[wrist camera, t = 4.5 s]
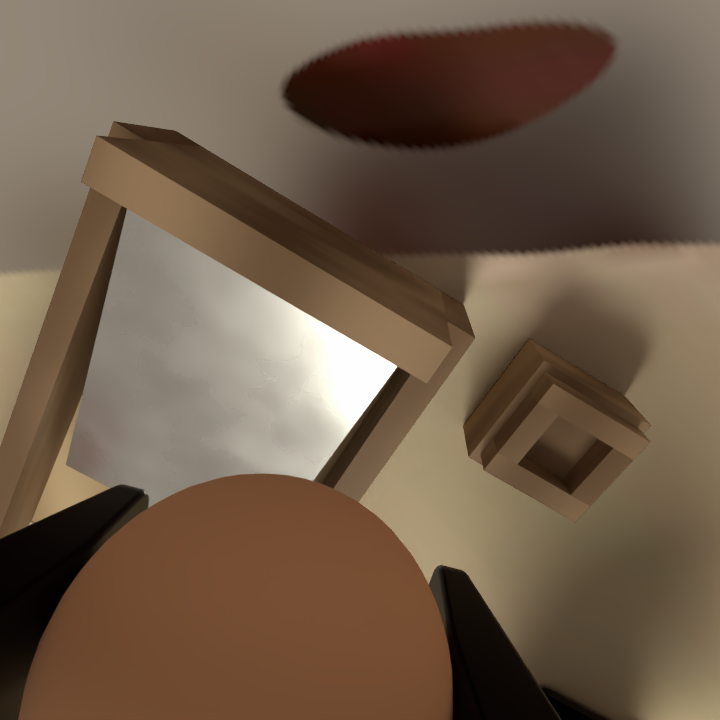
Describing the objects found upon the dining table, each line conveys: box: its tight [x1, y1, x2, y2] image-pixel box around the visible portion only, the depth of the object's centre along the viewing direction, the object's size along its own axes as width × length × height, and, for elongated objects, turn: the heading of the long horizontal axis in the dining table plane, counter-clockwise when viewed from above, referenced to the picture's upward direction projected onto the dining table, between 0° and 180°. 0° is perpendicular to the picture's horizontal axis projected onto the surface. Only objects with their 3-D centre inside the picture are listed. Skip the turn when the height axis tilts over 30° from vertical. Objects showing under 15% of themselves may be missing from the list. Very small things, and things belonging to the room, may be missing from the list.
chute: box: [66, 209, 397, 508], centre depth 18 cm, size 9×13×4 cm, turn 150°
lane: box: [0, 122, 475, 538], centre depth 21 cm, size 12×29×6 cm, turn 150°
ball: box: [18, 473, 453, 720], centre depth 6 cm, size 4×4×4 cm
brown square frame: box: [463, 339, 651, 522], centre depth 19 cm, size 4×4×3 cm
